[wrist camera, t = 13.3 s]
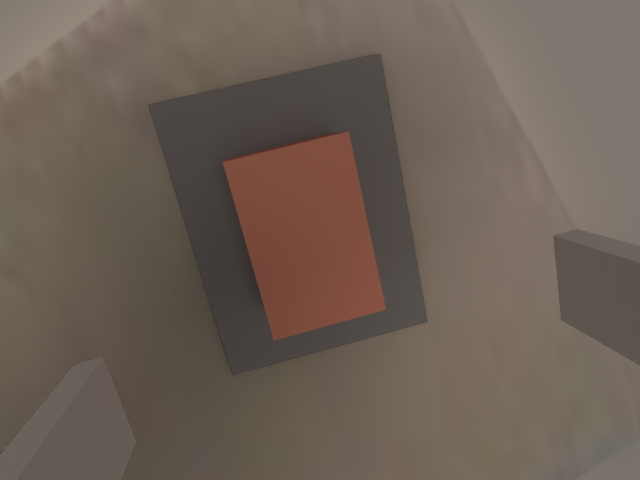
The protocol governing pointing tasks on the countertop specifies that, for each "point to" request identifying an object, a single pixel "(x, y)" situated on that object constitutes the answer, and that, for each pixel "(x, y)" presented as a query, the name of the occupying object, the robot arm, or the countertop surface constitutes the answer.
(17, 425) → the countertop surface
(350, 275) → the card deck box
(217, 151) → the rubber mat
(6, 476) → the robot arm
